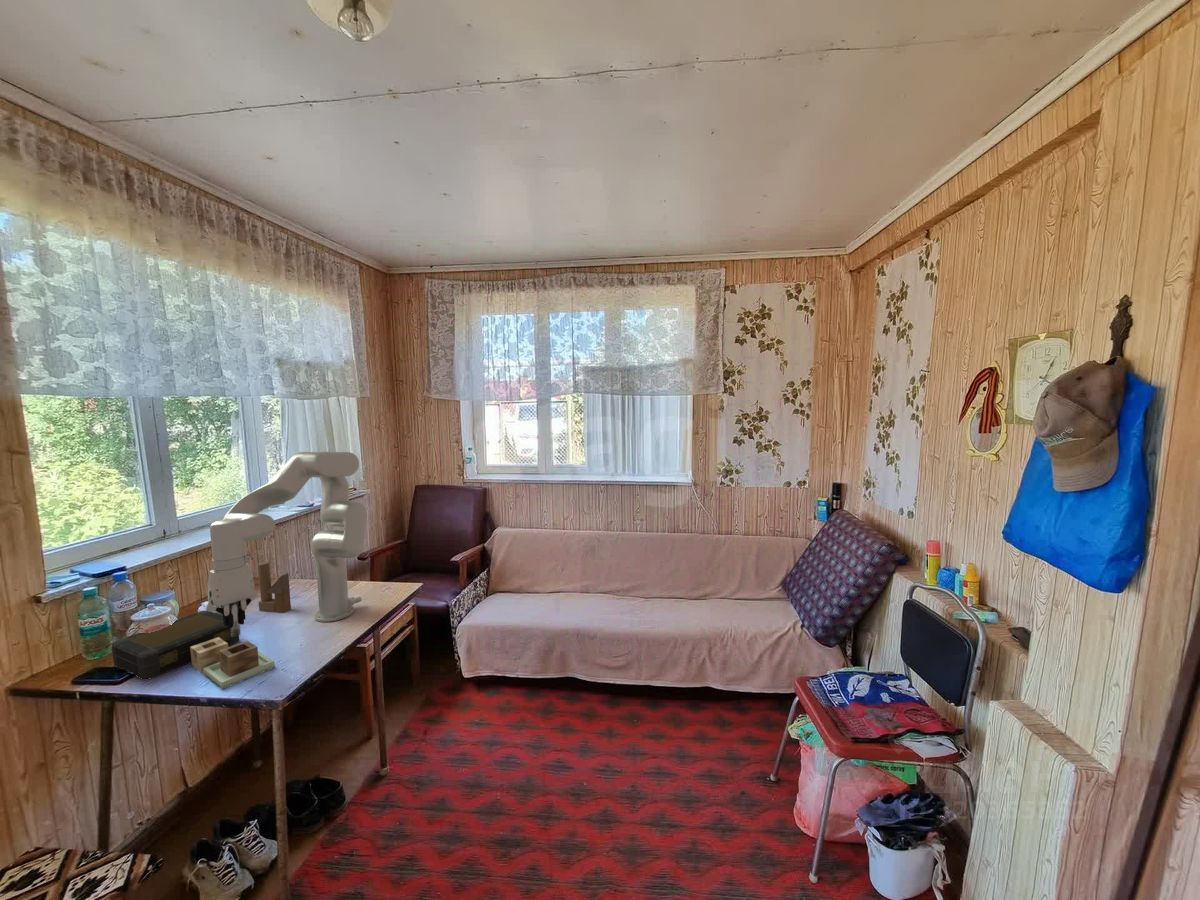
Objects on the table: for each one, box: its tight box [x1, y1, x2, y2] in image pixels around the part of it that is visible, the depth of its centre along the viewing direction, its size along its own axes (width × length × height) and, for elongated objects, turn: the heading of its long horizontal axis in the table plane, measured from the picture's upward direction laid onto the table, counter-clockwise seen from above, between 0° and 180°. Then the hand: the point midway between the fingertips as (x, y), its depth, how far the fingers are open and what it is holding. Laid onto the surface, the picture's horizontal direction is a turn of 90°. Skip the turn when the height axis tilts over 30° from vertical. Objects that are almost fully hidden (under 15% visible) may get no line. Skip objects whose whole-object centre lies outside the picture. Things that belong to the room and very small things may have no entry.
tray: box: [202, 650, 276, 690], centre depth 141 cm, size 13×13×2 cm
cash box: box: [111, 610, 240, 680], centre depth 151 cm, size 25×20×8 cm
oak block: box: [190, 637, 229, 674], centre depth 145 cm, size 7×7×6 cm
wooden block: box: [257, 561, 292, 614], centre depth 181 cm, size 4×11×18 cm, turn 80°
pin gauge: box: [229, 602, 242, 637], centre depth 139 cm, size 2×2×10 cm
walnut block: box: [219, 640, 259, 677], centre depth 141 cm, size 7×7×6 cm
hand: (234, 624), depth 139 cm, fingers closed on pin gauge, 2 cm apart
